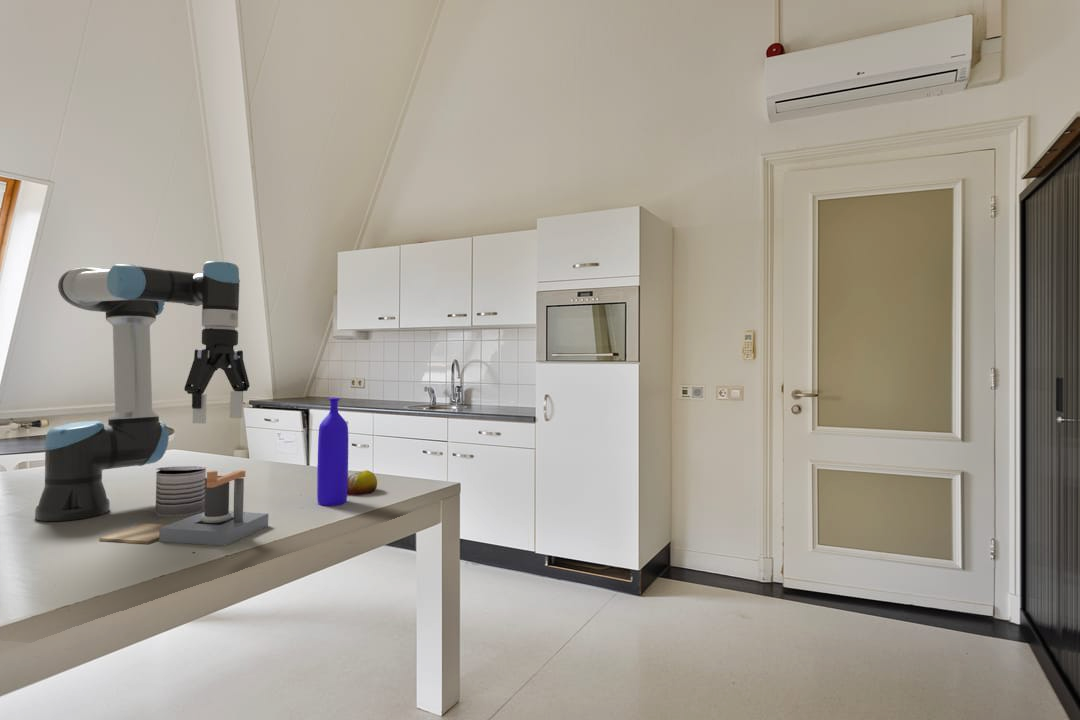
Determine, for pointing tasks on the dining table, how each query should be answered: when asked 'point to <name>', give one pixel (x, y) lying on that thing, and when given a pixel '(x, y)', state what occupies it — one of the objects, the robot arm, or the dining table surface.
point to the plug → (216, 505)
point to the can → (180, 490)
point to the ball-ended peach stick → (222, 478)
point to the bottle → (332, 458)
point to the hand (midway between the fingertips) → (218, 420)
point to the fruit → (361, 483)
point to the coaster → (136, 534)
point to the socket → (210, 534)
